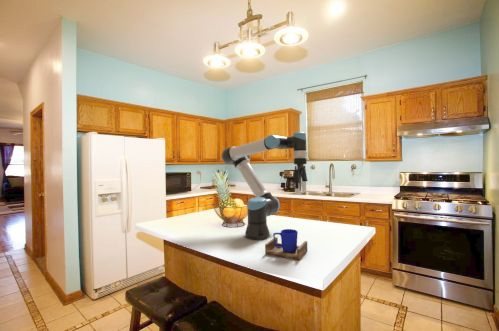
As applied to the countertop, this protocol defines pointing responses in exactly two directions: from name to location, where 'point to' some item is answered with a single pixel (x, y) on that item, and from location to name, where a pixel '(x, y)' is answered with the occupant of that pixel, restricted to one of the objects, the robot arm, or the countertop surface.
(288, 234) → the mug
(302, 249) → the tray
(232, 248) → the countertop surface
